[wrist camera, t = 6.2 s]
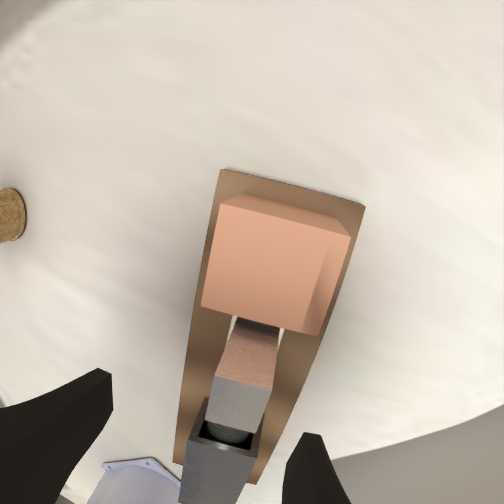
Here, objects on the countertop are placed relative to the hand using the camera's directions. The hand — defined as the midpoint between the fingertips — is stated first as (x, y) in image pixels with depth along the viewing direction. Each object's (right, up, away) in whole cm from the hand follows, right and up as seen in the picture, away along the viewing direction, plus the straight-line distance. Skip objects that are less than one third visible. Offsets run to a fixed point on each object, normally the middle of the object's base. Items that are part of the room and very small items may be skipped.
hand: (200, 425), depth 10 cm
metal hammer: (+2, 0, +8) cm, 9 cm away
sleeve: (-1, -9, +12) cm, 15 cm away
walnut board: (+1, -2, +11) cm, 11 cm away
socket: (+3, +6, +7) cm, 10 cm away
